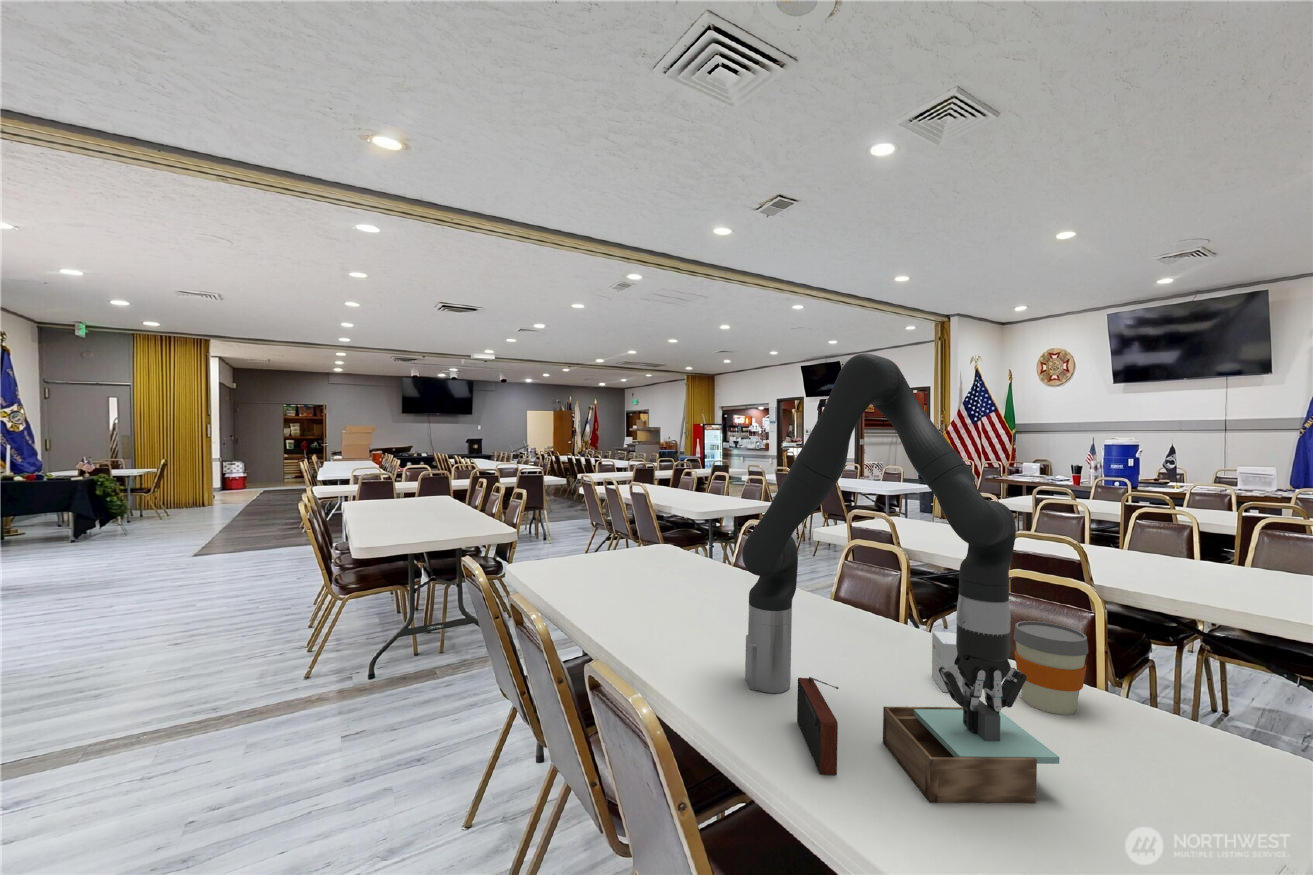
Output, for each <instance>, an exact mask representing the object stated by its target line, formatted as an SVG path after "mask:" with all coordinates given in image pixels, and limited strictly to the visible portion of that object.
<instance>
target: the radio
mask: <svg viewBox="0 0 1313 875" xmlns="http://www.w3.org/2000/svg"><path fill="white" fill-rule="evenodd" d="M816 682H818V683H821V684H824V685H827V686H829V687H832V688H834V689H836V690H839V687H838V686H834V685H831V684H829V683H827V682H825V681H821V680H819V679H817V678H814V677H811V676H809V677H797V699H796V700H797V705H796V706H797V707H796V708H797V709H796V722H797V725H798V728H799V730H800V732H801V734H802V736H803V739H804V741H805V744H806V746H807V748H808V751H809V753H810V756H811V757H812V759H813V762H814V764H815V767H816V770H817V771H818V774H819V775H829V776H830V775H831V776H836V775H838V735H839V732H838V730H839V729H838V727H839V726H838V723H839V722H838V720H837V719H836V717H835V715H834V712H832V710H831V707H830V706H829V705H828V703H827V700H826V699H825V697H824V696H823V694H822V692H821V690H820V689H819V687H818V686H817V684H816Z"/></svg>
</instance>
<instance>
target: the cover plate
mask: <svg viewBox="0 0 1313 875" xmlns="http://www.w3.org/2000/svg"><path fill="white" fill-rule="evenodd" d="M977 711H978V733H971V732H970V731H969V730H968V729H967V727H966V726H965V725H964V723H963V710H955V709H914V716H915V717H916V718H917V719H918V720H919V721H920V722H921V723H922V724H923V725H924V726H925V727H926V728H927V729H928V730H929V731H930V732H931V733H932V734H933V736H934V737H935V738H936V739H937V740H938V741H939V742H940V743H941V744H942V745H943V746H944V747H945V748H946V749H947V750H948V751H949V752H950V753H951V754H952V755H953V756H954V757H982V758H1035V759H1037V764H1038V765H1040V764H1041V765H1043V764H1045V765H1059V764H1060V756H1059V755H1057V754H1056V753H1055V752H1053V751H1052V750H1051V749H1050V748H1048V747H1047V746H1046V745H1045V744H1044V743H1042V742H1041V741H1039V740H1038V739H1037V738H1035V737H1034V736H1033V735H1032V734H1030V733H1029V732H1028V731H1027V730H1025V729H1024V728H1022V727H1021V726H1020V725H1019V724H1018V723H1016V722H1014V720H1012V719H1011V718H1010V717H1008V716H1007V715H1006V714H1004V713H1003V712H1002V711H1000V712H999V714H997V713H996V712H995V711H994V710H992V709H991V708H990V707H988V706H987V703H986V702H985V703H984V702H983V701H982V700H981V698H979V702H978V709H977Z"/></svg>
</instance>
